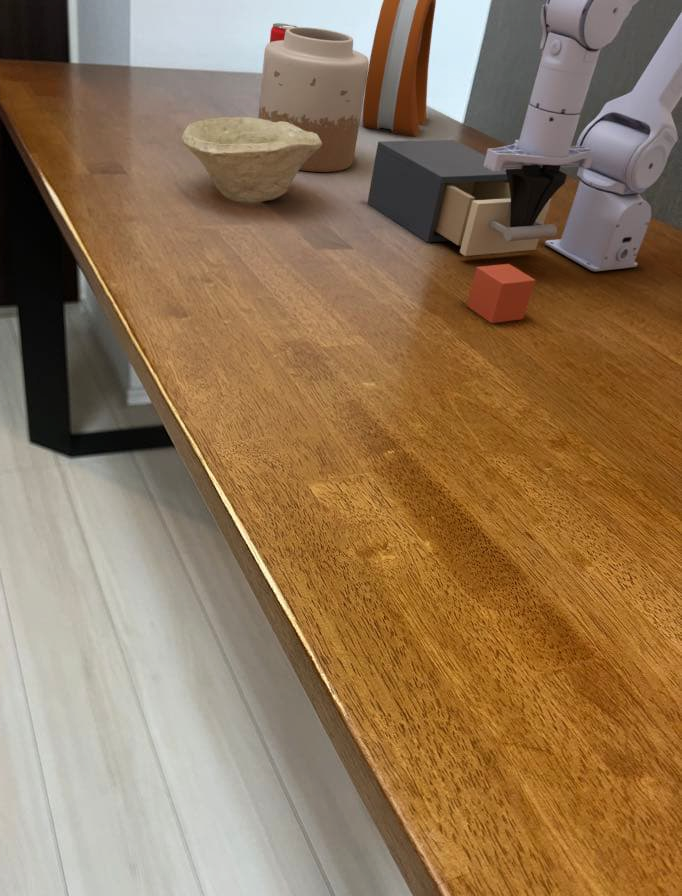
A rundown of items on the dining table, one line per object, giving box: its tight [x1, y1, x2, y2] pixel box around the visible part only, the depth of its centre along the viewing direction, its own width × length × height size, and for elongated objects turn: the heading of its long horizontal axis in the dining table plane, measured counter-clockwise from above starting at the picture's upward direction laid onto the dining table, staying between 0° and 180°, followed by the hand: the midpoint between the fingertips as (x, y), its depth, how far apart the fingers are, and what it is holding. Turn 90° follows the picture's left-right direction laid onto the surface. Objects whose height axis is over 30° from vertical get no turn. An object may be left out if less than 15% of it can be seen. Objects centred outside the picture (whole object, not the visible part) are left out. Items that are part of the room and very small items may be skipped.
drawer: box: [435, 180, 558, 257], centre depth 107 cm, size 18×11×6 cm, turn 27°
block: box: [466, 263, 536, 324], centre depth 92 cm, size 4×4×4 cm
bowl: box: [181, 116, 322, 205], centre depth 112 cm, size 14×18×15 cm
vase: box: [257, 26, 370, 173], centre depth 127 cm, size 15×15×17 cm
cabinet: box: [367, 139, 508, 244], centre depth 114 cm, size 15×13×8 cm
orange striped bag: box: [362, 0, 437, 137], centre depth 149 cm, size 22×10×23 cm, turn 165°
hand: (519, 230), depth 103 cm, fingers closed, pressing on drawer
